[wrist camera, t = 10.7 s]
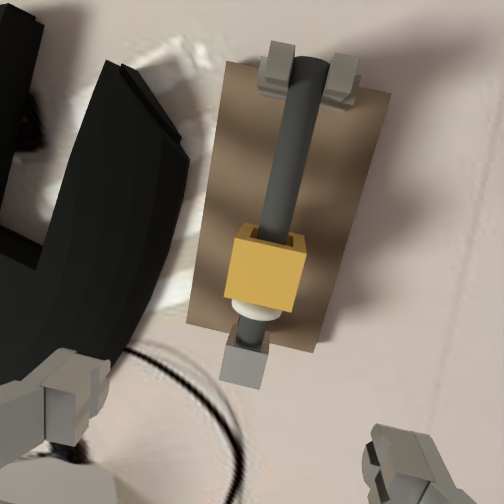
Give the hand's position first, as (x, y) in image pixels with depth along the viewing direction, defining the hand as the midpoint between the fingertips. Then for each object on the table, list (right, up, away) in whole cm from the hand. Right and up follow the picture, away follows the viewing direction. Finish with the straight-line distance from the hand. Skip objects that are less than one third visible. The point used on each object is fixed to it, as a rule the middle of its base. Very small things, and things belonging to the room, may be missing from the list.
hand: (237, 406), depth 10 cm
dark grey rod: (+2, +7, +13) cm, 15 cm away
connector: (+1, -1, +20) cm, 20 cm away
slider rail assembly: (+3, +7, +19) cm, 20 cm away
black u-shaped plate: (-21, +4, +23) cm, 32 cm away
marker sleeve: (+2, +5, +15) cm, 16 cm away
